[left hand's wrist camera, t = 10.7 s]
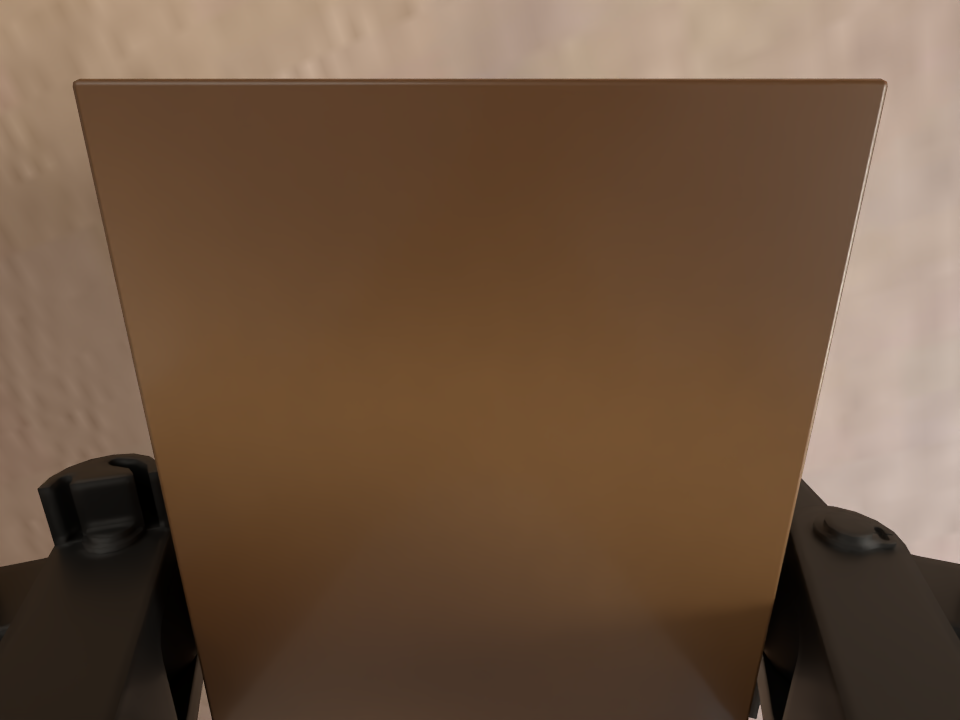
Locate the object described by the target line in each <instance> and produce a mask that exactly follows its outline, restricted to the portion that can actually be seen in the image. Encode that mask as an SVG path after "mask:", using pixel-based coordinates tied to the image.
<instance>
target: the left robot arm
mask: <svg viewBox="0 0 960 720" xmlns="http://www.w3.org/2000/svg"><path fill="white" fill-rule="evenodd" d="M38 492H39V495H40V498H41V502H42V505H43V508H44V512H45V515H46V518H47V521H48V525H49V528H50V531H51V535H52V538H53V541H54V545H55V546H54V548H53V550H52V551H51V553H50V555H49V557H48V558H44V559H39V560H34V561H29V562H24V563H18V564H13V565H8V566H3V567H0V720H197V717H198V711H199V704H200V697H201V691H202V684H203V676H202V671H201V666H200V662H199V657H198V653H197V648H196V644H195V639H194V635H193V630H192V626H191V621H190V616H189V612H188V607H187V603H186V598H185V594H184V589H183V585H182V580H181V576H180V571H179V567H178V562H177V557H176V553H175V548H174V544H173V539H172V535H171V530H170V526H169V521H168V517H167V512H166V507H165V503H164V498H163V494H162V489H161V485H160V480H159V476H158V471H157V467H156V462H155V460H154V459H153V458H151V457H150V456H145V455H139V454H117V455H110V456H105V457H100V458H95V459H91V460H88V461H85V462H82V463H79V464H76V465H74V466H71V467H68V468H66V469H65V470H63V471H61V472H59V473H57V474H55V475H54V476H52V477H50V478H49V479H48V480H47V481H46V482H45V483H43V484H42V485H41V486H40V487H39V488H38ZM759 705H761V709H762V716H763V720H960V564H957V563H951V562H946V561H941V560H936V559H931V558H925V557H920V556H916V555H912V554H910V552H909V550H908V549H907V547H906V545H905V544H904V543H903V542H902V540H901V539H900V538H899V537H898V536H897V535H896V534H895V533H894V532H893V531H892V530H890V529H889V528H887V527H885V526H884V525H882V524H881V523H879V522H878V521H876V520H874V519H871V518H869V517H867V516H864V515H862V514H860V513H857V512H854V511H850V510H846V509H842V508H838V507H834V506H827V505H826V504H825V503H824V502H823V500H822V499H821V498H820V497H819V496H818V495H817V494H816V493H815V492H814V491H813V490H812V489H811V488H810V487H809V486H808V485H807V484H806V483H805V482H804V481H803V480H802V479H801V482H800V486H799V491H798V495H797V500H796V504H795V509H794V513H793V518H792V523H791V527H790V532H789V536H788V541H787V545H786V550H785V554H784V559H783V563H782V568H781V573H780V577H779V582H778V586H777V591H776V595H775V600H774V604H773V609H772V613H771V618H770V623H769V627H768V632H767V636H766V641H765V645H764V650H763V654H762V659H761V663H760V668H759V673H758V677H757V682H756V686H755V691H754V695H753V700H752V704H751V709H750V713H749V717H751V718H755V719H756V718H757V714H758V709H759Z"/></svg>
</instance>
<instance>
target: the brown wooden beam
mask: <svg viewBox="0 0 960 720" xmlns="http://www.w3.org/2000/svg"><path fill="white" fill-rule="evenodd" d="M73 90H74V94H75V99H76V103H77V108H78V112H79V117H80V121H81V126H82V131H83V135H84V140H85V144H86V149H87V153H88V158H89V162H90V167H91V171H92V176H93V181H94V185H95V190H96V194H97V199H98V203H99V208H100V212H101V217H102V221H103V226H104V230H105V235H106V240H107V244H108V249H109V253H110V258H111V262H112V267H113V271H114V276H115V280H116V285H117V290H118V294H119V299H120V303H121V308H122V312H123V317H124V321H125V326H126V330H127V335H128V339H129V344H130V349H131V353H132V358H133V362H134V367H135V371H136V376H137V380H138V385H139V389H140V394H141V399H142V403H143V408H144V412H145V417H146V421H147V426H148V430H149V435H150V439H151V444H152V448H153V453H154V458H155V462H156V467H157V471H158V476H159V480H160V485H161V489H162V494H163V498H164V503H165V507H166V512H167V517H168V521H169V526H170V530H171V535H172V539H173V544H174V548H175V553H176V557H177V562H178V567H179V571H180V576H181V580H182V585H183V589H184V594H185V598H186V603H187V607H188V612H189V616H190V621H191V626H192V630H193V635H194V639H195V644H196V648H197V653H198V657H199V662H200V666H201V671H202V676H203V680H204V685H205V689H206V694H207V698H208V703H209V707H210V712H211V716H212V720H748V718H749V713H750V709H751V704H752V700H753V695H754V691H755V686H756V682H757V677H758V673H759V668H760V663H761V659H762V654H763V650H764V645H765V641H766V636H767V632H768V627H769V623H770V618H771V613H772V609H773V604H774V600H775V595H776V591H777V586H778V582H779V577H780V573H781V568H782V563H783V559H784V554H785V550H786V545H787V541H788V536H789V532H790V527H791V523H792V518H793V513H794V509H795V504H796V500H797V495H798V491H799V486H800V482H801V477H802V473H803V468H804V464H805V459H806V454H807V450H808V445H809V441H810V436H811V432H812V427H813V423H814V418H815V414H816V409H817V404H818V400H819V395H820V391H821V386H822V382H823V377H824V373H825V368H826V364H827V359H828V354H829V350H830V345H831V341H832V336H833V332H834V327H835V323H836V318H837V314H838V309H839V304H840V300H841V295H842V291H843V286H844V282H845V277H846V273H847V268H848V264H849V259H850V254H851V250H852V245H853V241H854V236H855V232H856V227H857V223H858V218H859V214H860V209H861V205H862V200H863V195H864V191H865V186H866V182H867V177H868V173H869V168H870V164H871V159H872V155H873V150H874V145H875V141H876V136H877V132H878V127H879V123H880V118H881V114H882V109H883V105H884V100H885V95H886V91H887V82H886V81H884V80H882V79H78V80H76V81H74V82H73Z"/></svg>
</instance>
